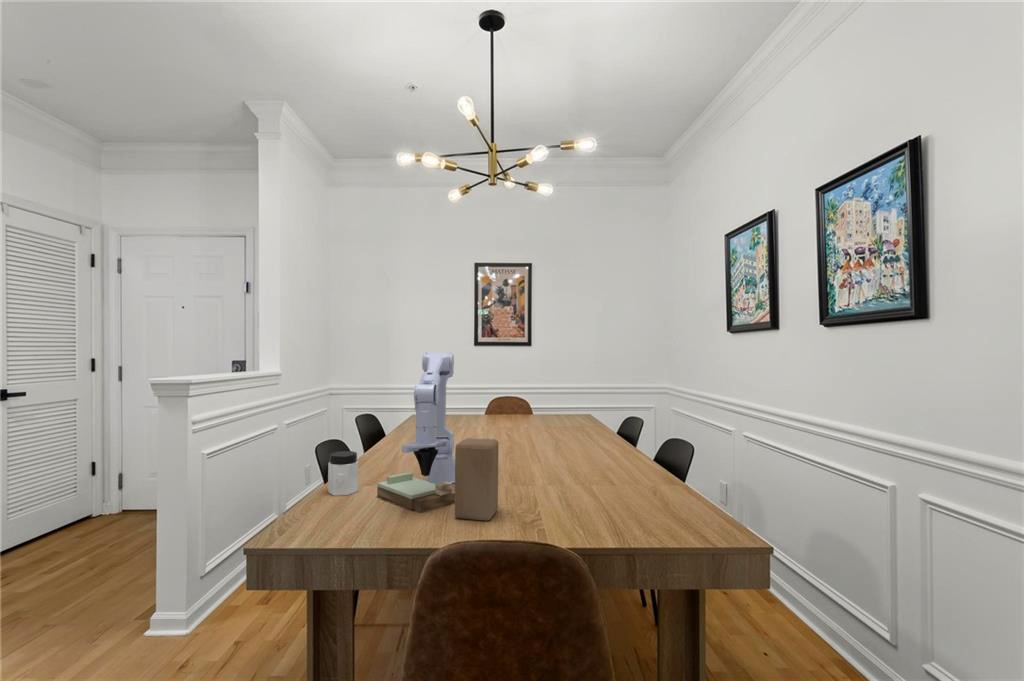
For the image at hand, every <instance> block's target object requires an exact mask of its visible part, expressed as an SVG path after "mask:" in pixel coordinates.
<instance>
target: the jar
mask: <svg viewBox="0 0 1024 681" xmlns="http://www.w3.org/2000/svg"><path fill="white" fill-rule="evenodd" d="M327 468H328V469H327V470H328V471H327V472H328V473H327V484H328V485H327V492H328V493H329V494H330V495H332V496H335V497H336V496H339V497H340V496H349V495H352V494H354V493H355V494H356V493H357V492H358V491H359V490H358V489H359V488H358V487H359V482H358V481H359V461H358V453H357V452H356V451H353V450H352V451H351V450H348V451H347V450H343V451H342V450H341V451H335V452H332V453H330V454H329V462H328V467H327Z"/></svg>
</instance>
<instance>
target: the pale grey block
mask: <svg viewBox="0 0 1024 681" xmlns="http://www.w3.org/2000/svg"><path fill="white" fill-rule="evenodd" d="M452 490H453V483H449V482H442V483H438V484H435V494H437V495H440V496H442V495H446V494H450V493H452Z"/></svg>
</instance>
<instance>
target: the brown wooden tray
mask: <svg viewBox="0 0 1024 681" xmlns="http://www.w3.org/2000/svg"><path fill="white" fill-rule="evenodd" d="M376 489H377V491H376V492H377V493H376V494H377V495H376V496H377V498H379V499H381V500H384V501H386V502H389V503H390V504H391V503H392V505H396V506H398V507H401V508H404V509H406V510H409V511H416V512H418V513H423V512H427V511H430V510H431V511H432V510H435V509H438V508H442V507H446V506H447V507H448V506H449V505H453V504H454V505H455V488H454V489H452V493H450V494H446V495H442V496H440V495H437V494H431V495H427V496H423V497H418V498H414V499H410V498H407V497H404V496H402V495H399V494H396V493H394V492H391V491H388V490H386V489H383V488H380V487H378V486H377V488H376Z"/></svg>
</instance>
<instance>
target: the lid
mask: <svg viewBox="0 0 1024 681" xmlns="http://www.w3.org/2000/svg"><path fill="white" fill-rule="evenodd" d="M377 487H380V488H383V489H386V490H388V491H391V492H394V493H396V494H399V495H402V496H404V497H407V498H410V499H414V498H418V497H423V496H427V495H431V494H435V484H433V483H430V482H427V481H425V480H424V479H420V478H417V477H415V476H414V473H413V472H410V471H409V472H404V473H399V474H393V475H387V476H386V481H382V482H381V481H380V482H377Z"/></svg>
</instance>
